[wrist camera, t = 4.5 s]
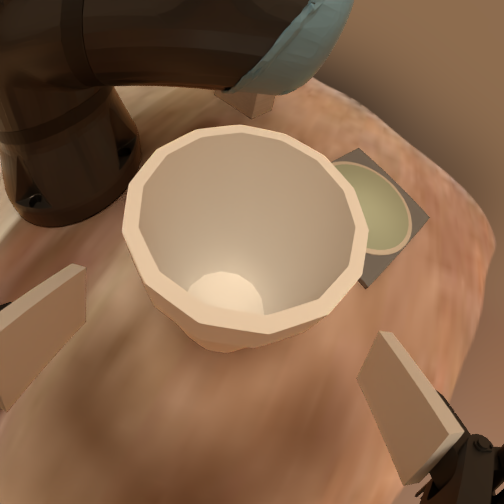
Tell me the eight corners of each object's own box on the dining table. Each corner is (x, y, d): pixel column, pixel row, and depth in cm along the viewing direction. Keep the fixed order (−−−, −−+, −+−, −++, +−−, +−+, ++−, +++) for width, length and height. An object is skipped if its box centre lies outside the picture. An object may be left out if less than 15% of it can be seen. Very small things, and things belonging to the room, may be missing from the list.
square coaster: (276, 194, 29) (278, 189, 28) (357, 150, 34) (359, 146, 34) (365, 289, 25) (369, 285, 25) (427, 219, 31) (430, 216, 31)
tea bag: (251, 119, 34) (268, 46, 25) (214, 95, 35) (223, 27, 27) (271, 110, 36) (290, 42, 27) (234, 87, 37) (246, 23, 28)
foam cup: (305, 298, 24) (392, 198, 13) (242, 398, 19) (303, 389, 8) (207, 235, 25) (221, 102, 14) (134, 321, 21) (73, 223, 9)
